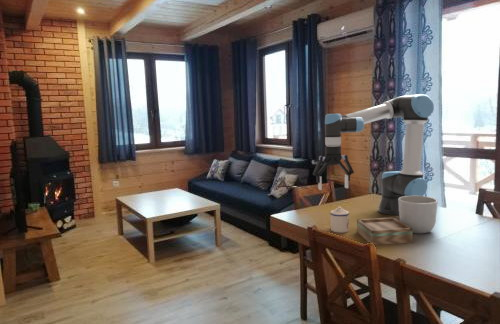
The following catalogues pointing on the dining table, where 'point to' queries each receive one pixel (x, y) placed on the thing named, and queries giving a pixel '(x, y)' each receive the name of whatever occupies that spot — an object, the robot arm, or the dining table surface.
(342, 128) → the robot arm
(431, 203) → the planter
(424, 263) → the dining table surface
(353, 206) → the dining table surface
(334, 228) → the teacup with lid
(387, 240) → the brown wooden box
